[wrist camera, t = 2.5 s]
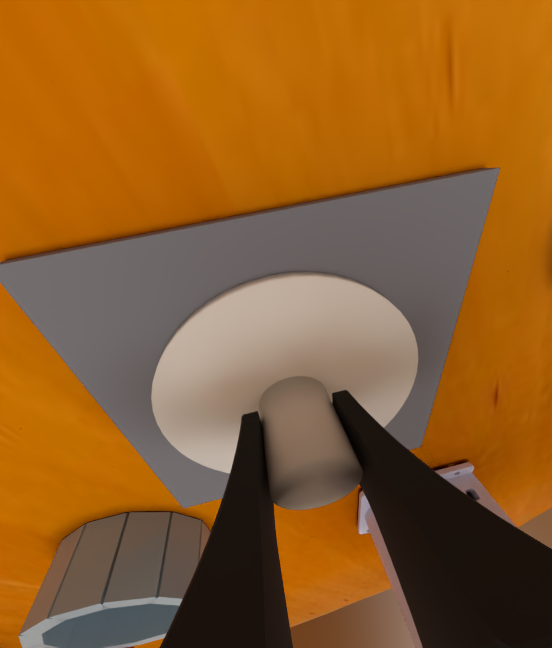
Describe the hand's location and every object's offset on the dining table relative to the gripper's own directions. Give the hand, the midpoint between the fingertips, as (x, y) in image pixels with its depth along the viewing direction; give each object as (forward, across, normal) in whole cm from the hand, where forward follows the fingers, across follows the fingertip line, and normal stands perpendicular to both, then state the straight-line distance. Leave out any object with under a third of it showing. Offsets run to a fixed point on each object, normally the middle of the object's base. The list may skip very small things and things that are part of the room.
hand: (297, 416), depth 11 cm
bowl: (+2, +13, +13) cm, 18 cm away
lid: (+1, 0, 0) cm, 1 cm away
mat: (+2, 0, 0) cm, 2 cm away
